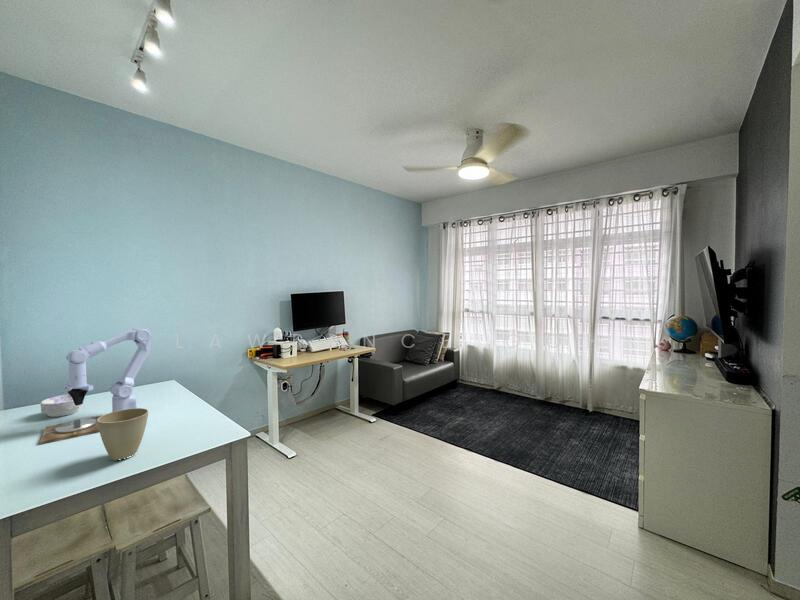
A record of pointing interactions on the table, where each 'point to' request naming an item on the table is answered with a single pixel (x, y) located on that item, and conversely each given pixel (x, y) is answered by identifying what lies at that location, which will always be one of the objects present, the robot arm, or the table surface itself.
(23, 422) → the table surface
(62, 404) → the paper bowls
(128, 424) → the plant pot
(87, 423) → the dial
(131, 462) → the table surface
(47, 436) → the plate
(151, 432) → the table surface
